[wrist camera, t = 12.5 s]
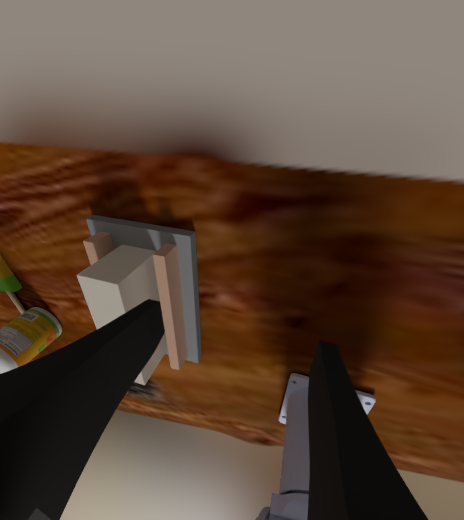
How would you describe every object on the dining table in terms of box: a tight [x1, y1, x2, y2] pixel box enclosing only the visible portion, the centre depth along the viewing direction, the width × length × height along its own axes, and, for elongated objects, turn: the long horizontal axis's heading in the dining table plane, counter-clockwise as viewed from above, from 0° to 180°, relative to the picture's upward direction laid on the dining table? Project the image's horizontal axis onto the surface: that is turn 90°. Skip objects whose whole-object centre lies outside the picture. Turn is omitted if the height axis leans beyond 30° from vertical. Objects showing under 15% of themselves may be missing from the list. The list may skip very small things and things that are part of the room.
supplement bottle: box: [0, 307, 62, 374], centre depth 31 cm, size 5×5×10 cm
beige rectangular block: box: [77, 245, 168, 385], centre depth 22 cm, size 12×4×5 cm, turn 178°
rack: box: [83, 215, 202, 370], centre depth 24 cm, size 16×10×3 cm, turn 178°
